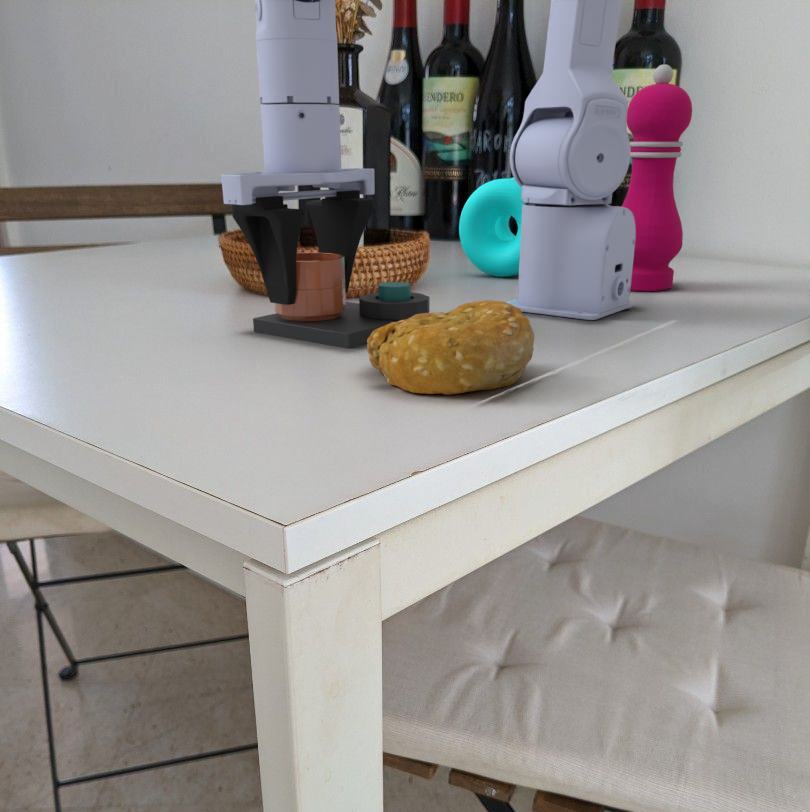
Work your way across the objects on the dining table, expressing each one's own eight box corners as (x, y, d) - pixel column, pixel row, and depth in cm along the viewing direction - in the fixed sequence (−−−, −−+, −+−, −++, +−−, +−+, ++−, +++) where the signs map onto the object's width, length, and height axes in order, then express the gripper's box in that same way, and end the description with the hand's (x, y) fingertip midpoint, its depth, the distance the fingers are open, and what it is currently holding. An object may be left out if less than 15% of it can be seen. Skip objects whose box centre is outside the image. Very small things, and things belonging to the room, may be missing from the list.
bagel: (428, 352, 62) (428, 284, 60) (561, 377, 55) (567, 301, 53) (332, 380, 55) (329, 304, 53) (473, 412, 48) (475, 327, 46)
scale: (441, 327, 70) (442, 295, 69) (357, 351, 62) (356, 316, 61) (342, 312, 76) (341, 283, 75) (253, 333, 68) (251, 301, 67)
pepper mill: (685, 284, 89) (714, 64, 80) (664, 294, 83) (692, 60, 75) (618, 279, 92) (639, 68, 84) (593, 288, 87) (613, 63, 78)
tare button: (417, 300, 69) (417, 283, 68) (397, 305, 67) (397, 287, 66) (391, 297, 70) (391, 280, 70) (371, 302, 68) (371, 284, 68)
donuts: (565, 268, 100) (572, 175, 95) (541, 281, 91) (547, 180, 87) (484, 264, 103) (487, 174, 99) (454, 275, 95) (456, 178, 91)
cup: (352, 310, 71) (350, 252, 69) (336, 323, 66) (334, 262, 64) (287, 308, 71) (283, 251, 69) (266, 321, 66) (261, 260, 64)
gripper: (267, 101, 55) (281, 317, 60) (404, 106, 65) (405, 290, 71) (194, 103, 58) (213, 306, 64) (334, 108, 69) (340, 282, 75)
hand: (309, 297), depth 68 cm, fingers closed on cup, 6 cm apart
